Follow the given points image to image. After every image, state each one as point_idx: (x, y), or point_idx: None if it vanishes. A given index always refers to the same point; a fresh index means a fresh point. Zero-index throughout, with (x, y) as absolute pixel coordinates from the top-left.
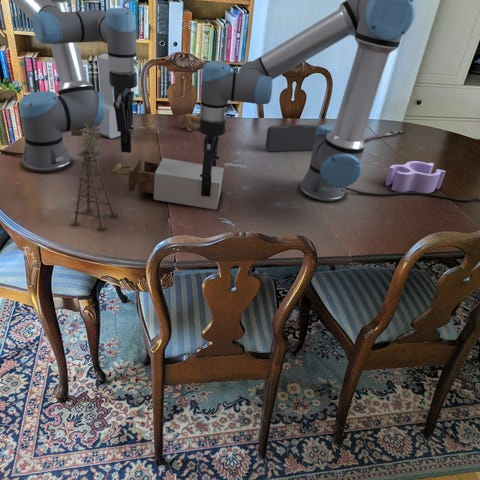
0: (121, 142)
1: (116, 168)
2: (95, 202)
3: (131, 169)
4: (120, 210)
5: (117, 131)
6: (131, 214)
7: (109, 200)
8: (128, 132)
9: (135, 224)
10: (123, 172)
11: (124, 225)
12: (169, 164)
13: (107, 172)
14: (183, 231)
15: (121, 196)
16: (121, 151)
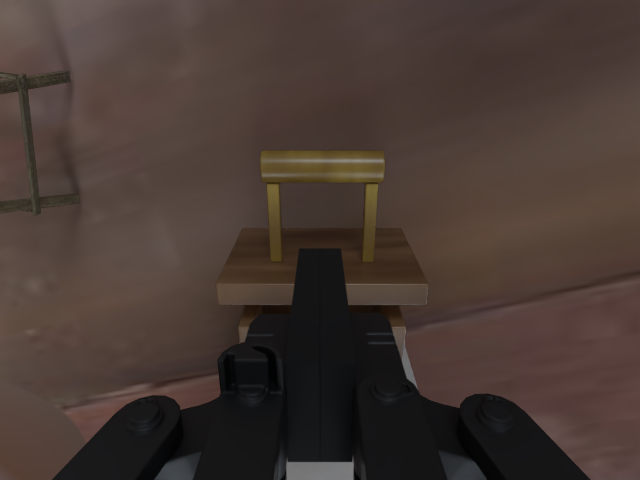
0: (293, 293)
1: (293, 173)
2: (26, 125)
3: (235, 294)
4: (138, 210)
5: (242, 343)
6: (124, 260)
7: (9, 211)
8: (289, 449)
9: (60, 292)
10: (274, 220)
11: (34, 257)
12: (352, 463)
13: (516, 24)
14: (87, 436)
15: (260, 179)
16: (299, 251)
